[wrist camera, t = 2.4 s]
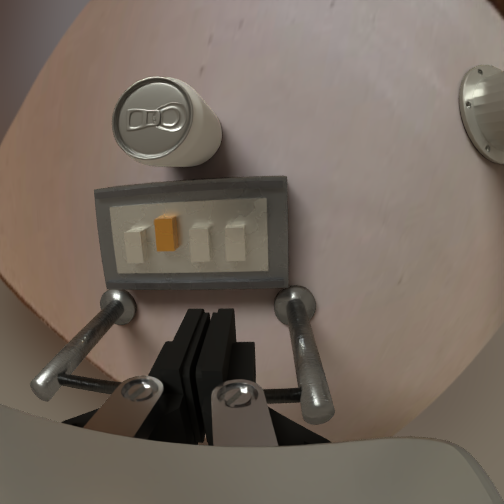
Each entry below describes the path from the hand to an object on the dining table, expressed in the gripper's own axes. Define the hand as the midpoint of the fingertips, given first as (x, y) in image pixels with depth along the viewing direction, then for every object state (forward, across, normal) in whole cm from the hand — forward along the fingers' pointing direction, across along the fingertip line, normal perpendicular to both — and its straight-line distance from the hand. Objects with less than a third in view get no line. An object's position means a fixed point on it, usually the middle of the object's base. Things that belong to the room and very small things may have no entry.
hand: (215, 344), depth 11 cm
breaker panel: (+21, +5, -1) cm, 22 cm away
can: (+22, +5, -10) cm, 24 cm away
